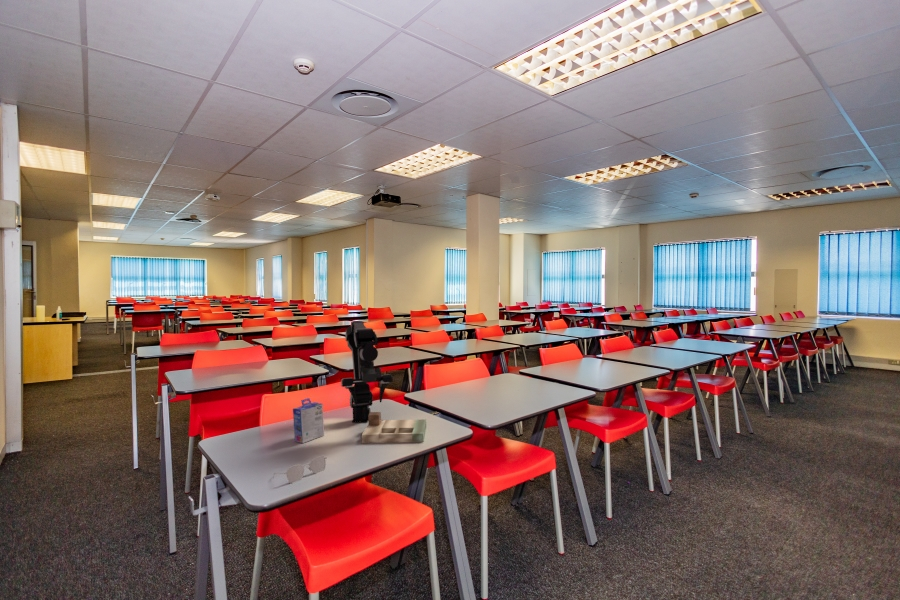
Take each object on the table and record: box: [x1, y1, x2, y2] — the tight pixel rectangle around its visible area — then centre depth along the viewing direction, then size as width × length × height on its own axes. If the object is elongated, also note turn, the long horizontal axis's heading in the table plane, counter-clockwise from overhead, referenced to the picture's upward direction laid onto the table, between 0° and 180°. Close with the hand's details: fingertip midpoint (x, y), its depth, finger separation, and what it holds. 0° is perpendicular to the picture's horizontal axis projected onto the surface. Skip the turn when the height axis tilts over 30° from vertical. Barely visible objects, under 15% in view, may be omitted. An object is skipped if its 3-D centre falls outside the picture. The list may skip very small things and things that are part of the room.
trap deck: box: [361, 419, 427, 444], centre depth 159 cm, size 22×16×3 cm
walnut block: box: [368, 411, 382, 426], centre depth 163 cm, size 4×4×4 cm
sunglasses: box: [273, 455, 327, 484], centre depth 128 cm, size 14×8×5 cm, turn 140°
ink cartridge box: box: [292, 398, 325, 444], centre depth 157 cm, size 10×6×14 cm, turn 145°
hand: (368, 403), depth 159 cm, fingers open, 9 cm apart
